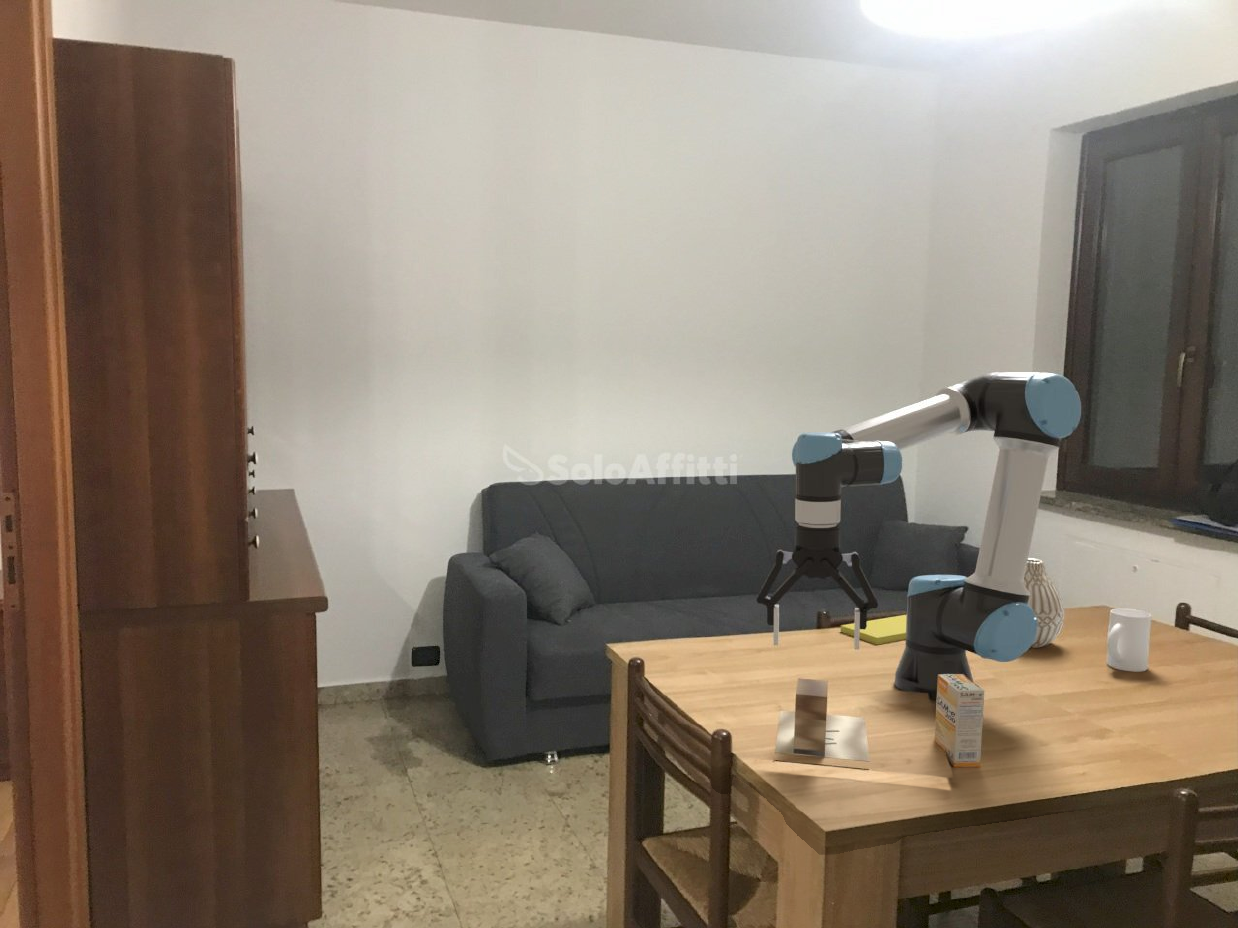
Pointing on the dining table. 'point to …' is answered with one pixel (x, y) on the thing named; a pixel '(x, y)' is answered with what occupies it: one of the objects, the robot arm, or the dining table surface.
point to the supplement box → (959, 719)
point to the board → (828, 738)
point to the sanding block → (810, 717)
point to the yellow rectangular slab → (880, 630)
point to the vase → (1043, 602)
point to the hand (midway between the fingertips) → (816, 645)
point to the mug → (1128, 639)
